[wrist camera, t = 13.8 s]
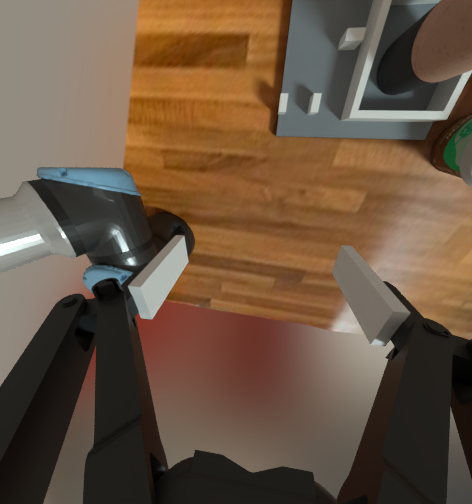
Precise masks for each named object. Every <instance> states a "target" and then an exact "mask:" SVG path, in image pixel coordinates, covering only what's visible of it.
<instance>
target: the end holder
mask: <svg viewBox="0 0 472 504" xmlns="http://www.w3.org/2000/svg"><path fill="white" fill-rule="evenodd" d="M440 1H441V0H373V2H372V6H371V10H370V13H369V17H368V21H367V24H366V27H367V28H366V31H365V35H364V39H363V41H362V43H361V47H360V50H359V54H358V58H357V61H356V65H355V69H354V72H353V76H352V80H351V84H350V87H349V91H348V95H347V98H346V102H345V106H344V109H343V113H342V117H341V121H383V122H432V121H440V120H447V119H448V117H449V115H450V113H451V111H452V109H453V107H454V105H455V103H456V101H457V99H458V98H459V96H460V94H461V92H462V90H463V88H464V86H465V84H466V82H467V80H468V78H469V76H470V75H471V73H472V70H471V71H468V72H466V73H463V74H460V75H457V76H455V77H452V78H449V79H447V80H444V81H441V82H439V83H438V85H437V87H436V89H435V92H434V94H433V96H432V98H431V100H430V102H429V105H428V107H427V109H426V111H385V110H358V109H359V106H360V103H361V100H362V96H363V93H364V90H365V87H366V83H367V80H368V77H369V73H370V70H371V67H372V64H373V60H374V57H375V54H376V50H377V47H378V44H379V41H380V37H381V34H382V31H383V28H384V24H385V21H386V18H387V14H388V11H389V8H390V6H393V5H412V4H432V3H438V2H440Z"/></svg>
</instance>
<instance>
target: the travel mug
mask: <svg viewBox="0 0 472 504" xmlns="http://www.w3.org/2000/svg"><path fill="white" fill-rule="evenodd" d="M471 70H472V0H441V1H440V2H438V3H437V4H436V5H435V6H434V7H433V8H432V9H430V10H429V11H428V12H427V13H426V14H425V15H423V16H422V17H421V18H420V19H419V20H418V21H417V22H415V23H414V24H413V25H412V26H411V27H410V28H409V29H407V30H406V31H405V32H404V33H403V34H402V35H401V36H399V37H398V38H397V39H396V40H395V41H394V42H393V43H392V44H391V45H390V46H389V48H388V49H387V50H386V52H385V53H384V55H383V57H382V59H381V61H380V63H379V66H378V69H377V84H378V87H379V89H380V90H381V91H382V92H383V93H385V94H387V95H398V94H402V93H406V92H409V91H412V90H415V89H418V88H422V87H425V86H428V85H431V84H434V83H438V82H441V81H444V80H447V79H449V78H452V77H455V76H457V75H460V74H463V73H466V72H468V71H471Z"/></svg>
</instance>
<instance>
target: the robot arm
mask: <svg viewBox="0 0 472 504" xmlns="http://www.w3.org/2000/svg"><path fill="white" fill-rule="evenodd" d="M37 176H38V177H39V178H41V179H39V180H32V181H25V182H22V184H21V186H20V187H19V189H18V191H17V192H16V194H14V195H13V196H12V197H6V198H1V199H0V273H2V272H5V271H8V270H11V269H14V268H16V267H19V266H22V265H25V264H28V263H31V262H33V261H36V260H39V259H42V258H45V257H47V256H50V255H62V256H67V257H71V258H75V257H78V256H80V255H83V254H86V255H87V256H88V258H89V260H90V262H91V263H92V266H90V267H88V268H87V269H86V271H85V272H84V276H83V281H84V284H85V285H86V287H87V288H88V289H89V290H90V291H91V292H92V293H93V294H94V296H95V298H93V299H85V297H84V296H83V295H82V294H73V295H69V296H67V297H65V298H63V299H61V300H60V301H59V302H57V303H56V305H55V306H54V307H53V309H52V310H51V312H50V313H49V315H48V316H47V318H46V319H45V321H44V322H43V324H42V325H41V327H40V328H39V330H38V331H37V333H36V334H35V336H34V337H33V339H32V340H31V342H30V343H29V345H28V346H27V348H26V349H25V351H24V352H23V354H22V355H21V357H20V358H19V360H18V361H17V363H16V364H15V366H14V367H13V369H12V370H11V372H10V373H9V375H8V376H7V378H6V379H5V380H4V382H3V384H2V385H1V387H0V504H43V502H44V499H45V496H46V493H47V490H48V487H49V484H50V481H51V478H52V475H53V472H54V469H55V465H56V463H57V460H58V457H59V453H60V450H61V448H62V445H63V442H64V439H65V436H66V433H67V430H68V426H69V424H70V420H71V418H72V415H73V412H74V409H75V406H76V403H77V400H78V397H79V394H80V391H81V388H82V384H83V382H84V379H85V376H86V373H87V370H88V367H89V364H90V361H91V358H92V355H93V352H94V349H95V346H96V380H95V382H96V383H95V384H96V385H95V428H94V429H95V432H94V445H93V448H92V449H91V450H90V452H89V453H88V455H87V458H86V463H85V472H84V492H83V504H446V497H447V475H448V450H449V428H450V406H451V409H452V413H453V416H454V419H455V423H456V426H457V430H458V433H459V437H460V440H461V444H462V447H463V450H464V454H465V457H466V461H467V464H468V467H469V471H470V474H471V478H472V339H471V340H468V339H465V338H461V337H458V336H455V335H452V334H451V333H450V332H449V330H448V329H446V328H445V327H444V326H442V325H441V324H439V323H437V322H435V321H433V320H430V319H427V318H424V317H423V316H422V315H421V314H420V313H419V312H418V311H417V310H416V309H415V308H414V307H413V306H412V305H411V303H410V302H409V301H408V300H406V298H405V297H404V296H403V295H401V293H400V292H399V291H398V289H397V288H396V287H394V286H393V285H391V284H390V283H388V282H386V281H382V280H381V279H380V278H379V277H378V275H377V274H376V273H375V272H374V271H373V270H372V269H371V267H370V266H369V265H368V264H367V263H366V262H365V261H364V260H363V258H362V257H361V256H360V255H359V254H358V253H357V252H356V250H355V249H354V248H353V247H352V246H344V245H341V248H340V251H339V254H338V257H337V259H336V262H335V265H334V268H333V270H332V274H333V276H334V278H335V280H336V281H337V283H338V285H339V287H340V289H341V291H342V293H343V294H344V296H345V298H346V300H347V302H348V304H349V305H350V307H351V309H352V311H353V313H354V315H355V317H356V318H357V320H358V322H359V324H360V326H361V328H362V330H363V331H364V333H365V335H366V337H367V339H368V341H369V342H370V344H371V345H379V346H386V345H387V343H388V342H389V341H390V340H391V341H392V343H393V344H394V346H395V347H394V348H393V349H392V350H391V352H390V353H389V354H388V355H387V357H386V358H387V359H388V362H387V366H386V369H385V371H384V374H383V377H382V380H381V383H380V386H379V389H378V392H377V395H376V398H375V400H374V403H373V407H372V409H371V412H370V415H369V418H368V421H367V424H366V427H365V430H364V433H363V436H362V439H361V442H360V445H359V448H358V450H357V453H356V456H355V459H354V462H353V465H352V468H351V471H350V473H349V475H348V477H347V479H346V480H345V482H344V483H343V486H342V487H341V489H340V492H339V495H338V497H337V500H336V499H335V498H334V497H333V496H332V495H331V494H330V493H329V492H328V491H327V490H326V489H325V488H324V487H322V486H321V485H320V484H318V483H317V482H315V481H314V476H313V472H309V471H304V470H298V469H293V468H288V467H283V466H282V467H278V468H273V469H269V470H264V471H259V472H255V473H252V472H249V471H247V470H246V469H244V468H243V467H241V466H239V465H238V464H236V463H234V462H233V461H231V460H230V459H228V458H226V457H225V456H223V455H220V454H215V453H209V452H205V451H199V450H195V453H194V457H190V458H187V459H185V460H182V461H181V462H179V463H177V464H176V465H174V466H173V467H172V468H171V469H168V465H167V460H166V456H165V452H164V449H163V446H162V443H161V440H160V436H159V431H158V426H157V421H156V416H155V411H154V406H153V401H152V396H151V391H150V386H149V381H148V376H147V371H146V366H145V361H144V356H143V351H142V346H141V342H140V337H139V332H138V327H137V322H136V319H135V316H136V315H137V313H138V312H139V314H140V317H141V318H144V319H153V317H154V316H155V314H156V312H157V311H158V309H159V308H160V306H161V304H162V303H163V301H164V300H165V298H166V297H167V295H168V293H169V292H170V290H171V289H172V287H173V285H174V284H175V282H176V281H177V279H178V277H179V276H180V274H181V273H182V271H183V269H184V268H185V266H186V265H187V263H188V257H189V255H190V254H191V253H192V251H193V249H194V245H195V239H194V235H193V233H192V231H191V229H190V227H189V226H188V225H187V224H186V223H185V222H184V221H183V220H182V219H181V218H179V217H177V216H175V215H173V214H170V213H157V214H154V215H152V216H151V217H149V218H147V215H146V212H145V209H144V206H143V203H142V200H141V197H140V196H141V194H140V193H139V192H138V190H137V187H136V185H135V182H134V180H133V177H132V176H131V174H130V173H129V172H128V171H126V170H124V169H121V168H54V167H40V168H38V169H37Z"/></svg>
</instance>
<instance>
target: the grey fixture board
mask: <svg viewBox="0 0 472 504" xmlns="http://www.w3.org/2000/svg"><path fill="white" fill-rule="evenodd" d="M372 2H373V0H292V7H291V15H290V23H289V32H288V40H287V48H286V56H285V65H284V73H283V81H282V90H281V93H288V100H287V108H286V113H285V114H278V123H277V131H276V136H290V137H328V138H366V139H404V140H425V138H426V136H427V134H428V132H429V130H430V128H431V126H432V124H433V122H434V121H432V122H383V121H341V117H342V113H343V109H344V106H345V102H346V98H347V95H348V91H349V87H350V84H351V80H352V76H353V72H354V69H355V65H356V61H357V58H358V54H359V50H360V47H361V43H362V42H361V43H360V44H359V45H358V46H357V47H356V48H355V49H354V50H338V47H339V42H340V39H341V37H342V36H343V34H344V33H345V31H346V30H347V29H348V28H360V27H366V24H367V21H368V17H369V13H370V10H371V6H372ZM436 4H437V3H432V4H412V5H393V6H390V8H389V11H388V14H387V18H386V21H385V24H384V28H383V31H382V34H381V37H380V41H379V44H378V47H377V50H376V54H375V57H374V60H373V64H372V67H371V70H370V73H369V77H368V80H367V83H366V87H365V90H364V93H363V96H362V100H361V103H360V106H359V109H358V110H385V111H426V109H427V107H428V105H429V102H430V100H431V98H432V96H433V94H434V92H435V89H436V87H437V85H438V83H439V82H438V83H434V84H431V85H428V86H425V87H422V88H418V89H415V90H412V91H409V92H406V93H402V94H398V95H387V94H385V93H383V92H382V91H381V90H380V89H379V87H378V84H377V69H378V66H379V63H380V61H381V59H382V57H383V55H384V53H385V52H386V50H387V49H388V48H389V46H390V45H391V44H392V43H393V42H394V41H395V40H396V39H397V38H398V37H399V36H401V35H402V34H403V33H404V32H405V31H406V30H407V29H409V28H410V27H411V26H412V25H413V24H414V23H415V22H417V21H418V20H419V19H420V18H421V17H422V16H423V15H425V14H426V13H427V12H428V11H429V10H430V9H432V8H433V7H434V6H435V5H436ZM314 93H322V95H321V100H320V105H319V109H318V113H316V114H314V115H307V112H308V106H309V101H310V97H311V96H312V95H313V94H314Z"/></svg>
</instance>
